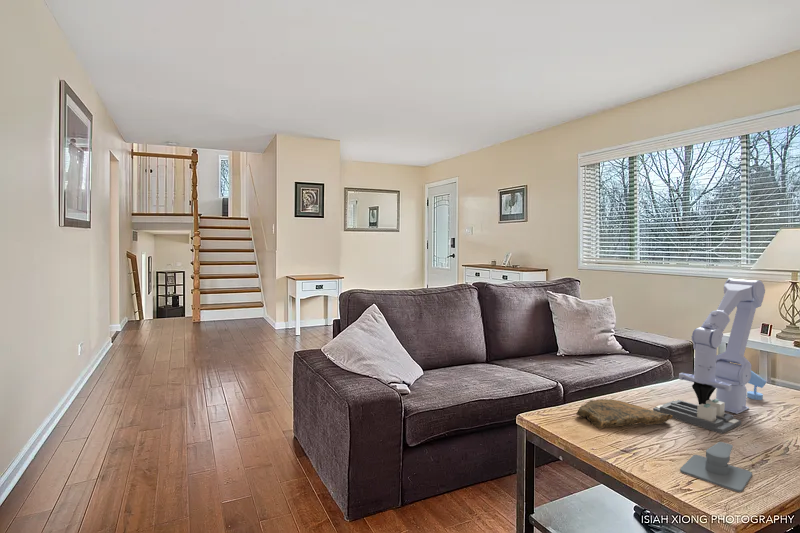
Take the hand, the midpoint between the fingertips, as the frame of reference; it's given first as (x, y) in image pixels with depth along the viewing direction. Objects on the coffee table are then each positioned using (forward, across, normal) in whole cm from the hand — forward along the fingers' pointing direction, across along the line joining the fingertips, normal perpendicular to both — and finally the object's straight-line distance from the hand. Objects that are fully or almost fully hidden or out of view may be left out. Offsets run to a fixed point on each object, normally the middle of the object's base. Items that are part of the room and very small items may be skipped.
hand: (702, 406), depth 146 cm
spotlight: (+3, +2, +35) cm, 35 cm away
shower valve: (+4, +19, -36) cm, 40 cm away
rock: (+4, -12, -25) cm, 28 cm away
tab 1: (+2, +4, -7) cm, 8 cm away
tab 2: (+2, +4, 0) cm, 4 cm away
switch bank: (+3, 0, -4) cm, 5 cm away
